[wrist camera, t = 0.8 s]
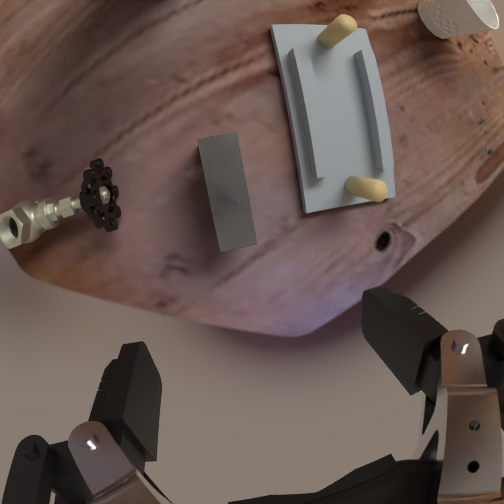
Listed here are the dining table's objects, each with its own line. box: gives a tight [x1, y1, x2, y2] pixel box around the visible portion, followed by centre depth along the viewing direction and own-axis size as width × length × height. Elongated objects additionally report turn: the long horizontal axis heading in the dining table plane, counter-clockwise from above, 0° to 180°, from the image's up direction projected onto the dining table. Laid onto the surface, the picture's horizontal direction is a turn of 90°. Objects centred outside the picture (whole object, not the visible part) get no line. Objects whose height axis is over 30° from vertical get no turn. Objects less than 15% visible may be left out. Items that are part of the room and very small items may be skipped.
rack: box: [270, 14, 395, 213], centre depth 24 cm, size 20×11×6 cm, turn 10°
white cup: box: [418, 0, 499, 39], centre depth 19 cm, size 8×8×10 cm
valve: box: [0, 158, 121, 249], centre depth 22 cm, size 7×7×12 cm
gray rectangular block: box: [197, 132, 257, 252], centre depth 25 cm, size 9×3×6 cm, turn 10°
